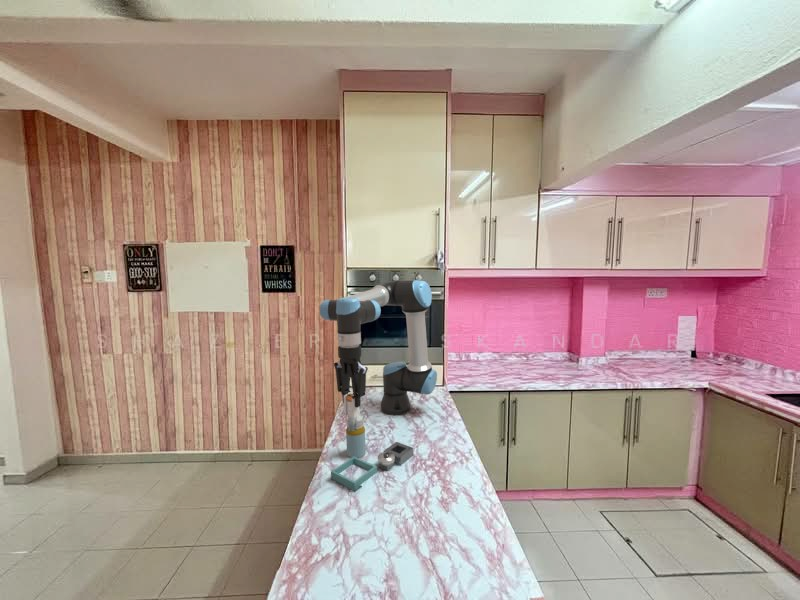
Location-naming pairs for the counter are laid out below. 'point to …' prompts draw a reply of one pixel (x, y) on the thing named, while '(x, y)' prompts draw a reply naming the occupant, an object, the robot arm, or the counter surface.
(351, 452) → the bottle
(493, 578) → the counter surface
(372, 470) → the tray
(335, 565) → the counter surface
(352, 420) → the pin
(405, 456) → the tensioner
